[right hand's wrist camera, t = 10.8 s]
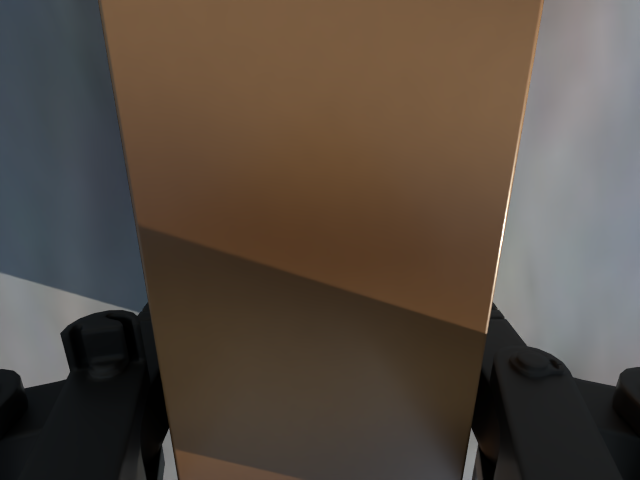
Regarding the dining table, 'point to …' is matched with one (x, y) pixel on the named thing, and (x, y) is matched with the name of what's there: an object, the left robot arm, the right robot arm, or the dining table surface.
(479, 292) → the board
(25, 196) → the dining table surface
